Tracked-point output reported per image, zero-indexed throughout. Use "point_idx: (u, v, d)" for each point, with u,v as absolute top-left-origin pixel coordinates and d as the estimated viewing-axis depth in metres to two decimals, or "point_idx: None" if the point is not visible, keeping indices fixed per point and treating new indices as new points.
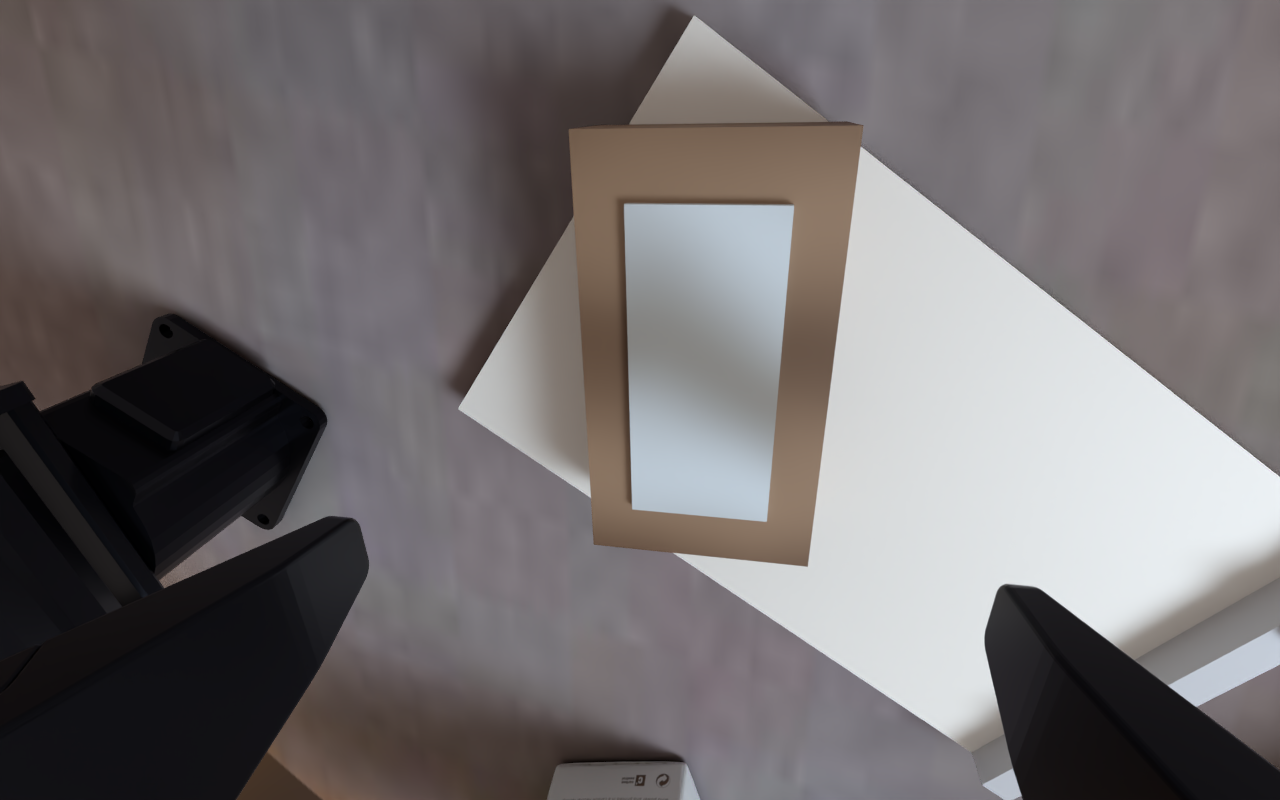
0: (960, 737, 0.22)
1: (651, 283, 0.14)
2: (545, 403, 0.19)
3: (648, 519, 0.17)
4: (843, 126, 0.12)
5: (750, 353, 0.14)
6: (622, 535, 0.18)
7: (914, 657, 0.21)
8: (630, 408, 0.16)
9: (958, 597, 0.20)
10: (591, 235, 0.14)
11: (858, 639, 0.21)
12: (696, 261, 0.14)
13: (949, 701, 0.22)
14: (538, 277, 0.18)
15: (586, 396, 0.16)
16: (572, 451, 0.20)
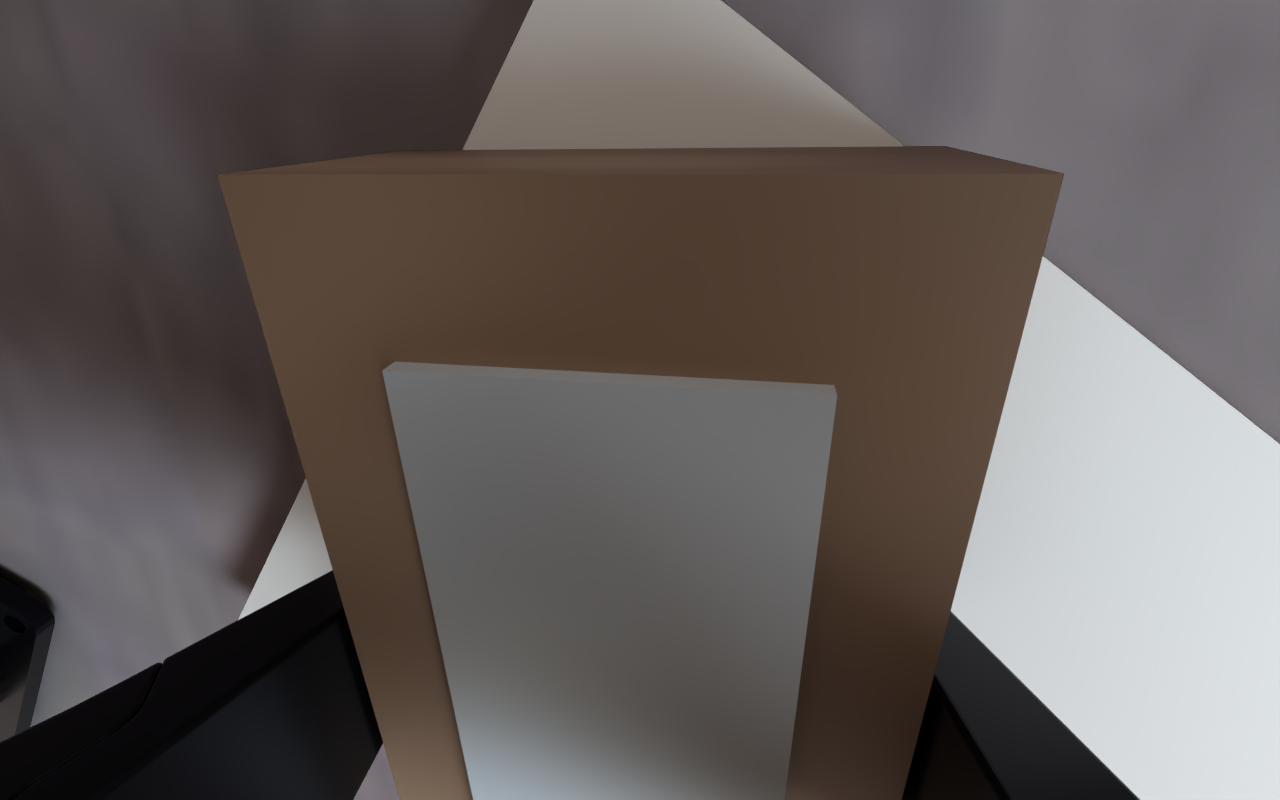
0: None
1: (477, 546, 0.06)
2: None
3: None
4: (998, 175, 0.04)
5: (722, 700, 0.06)
6: None
7: None
8: (469, 760, 0.07)
9: None
10: (328, 430, 0.06)
11: None
12: (579, 511, 0.05)
13: None
14: None
15: (380, 724, 0.07)
16: None
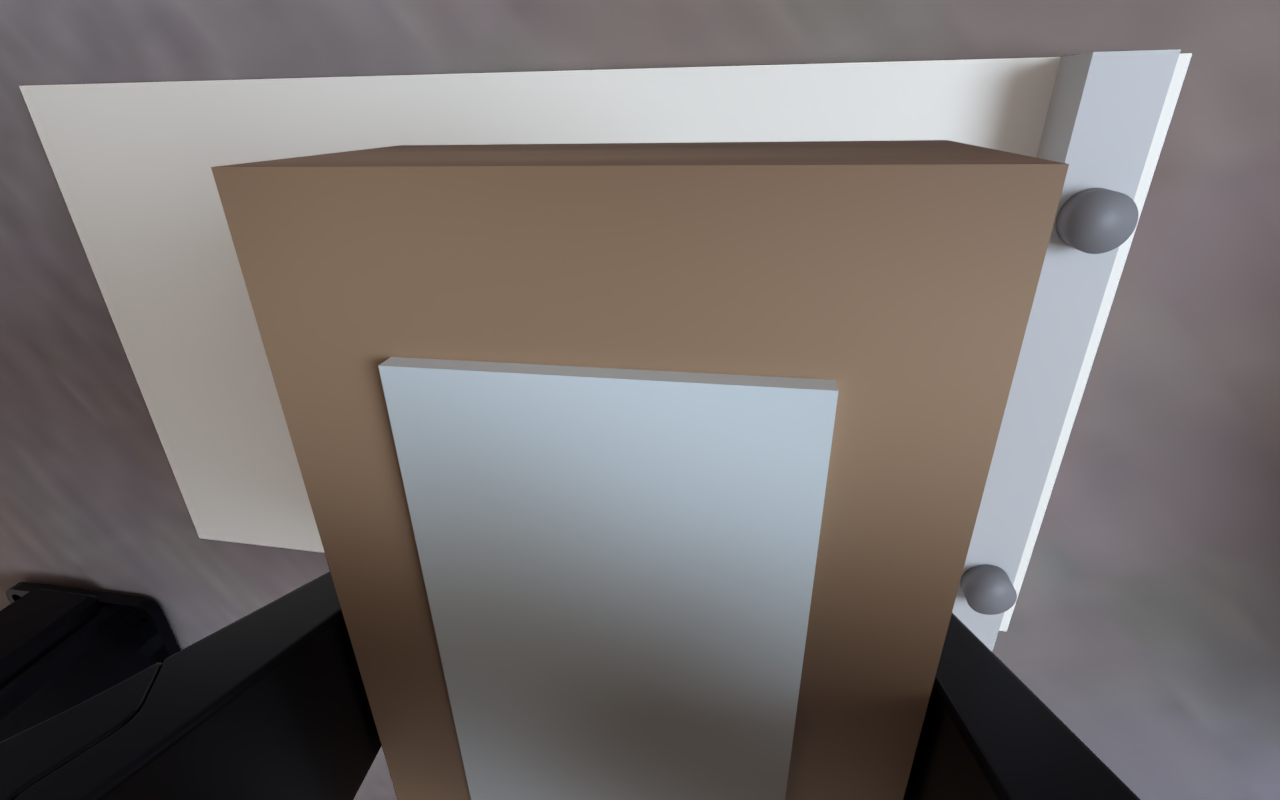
0: None
1: (474, 544, 0.06)
2: (241, 490, 0.19)
3: None
4: (1002, 166, 0.04)
5: (722, 699, 0.06)
6: None
7: None
8: (467, 759, 0.07)
9: None
10: (324, 426, 0.06)
11: None
12: (577, 506, 0.05)
13: None
14: (139, 385, 0.18)
15: (377, 723, 0.07)
16: (296, 521, 0.19)
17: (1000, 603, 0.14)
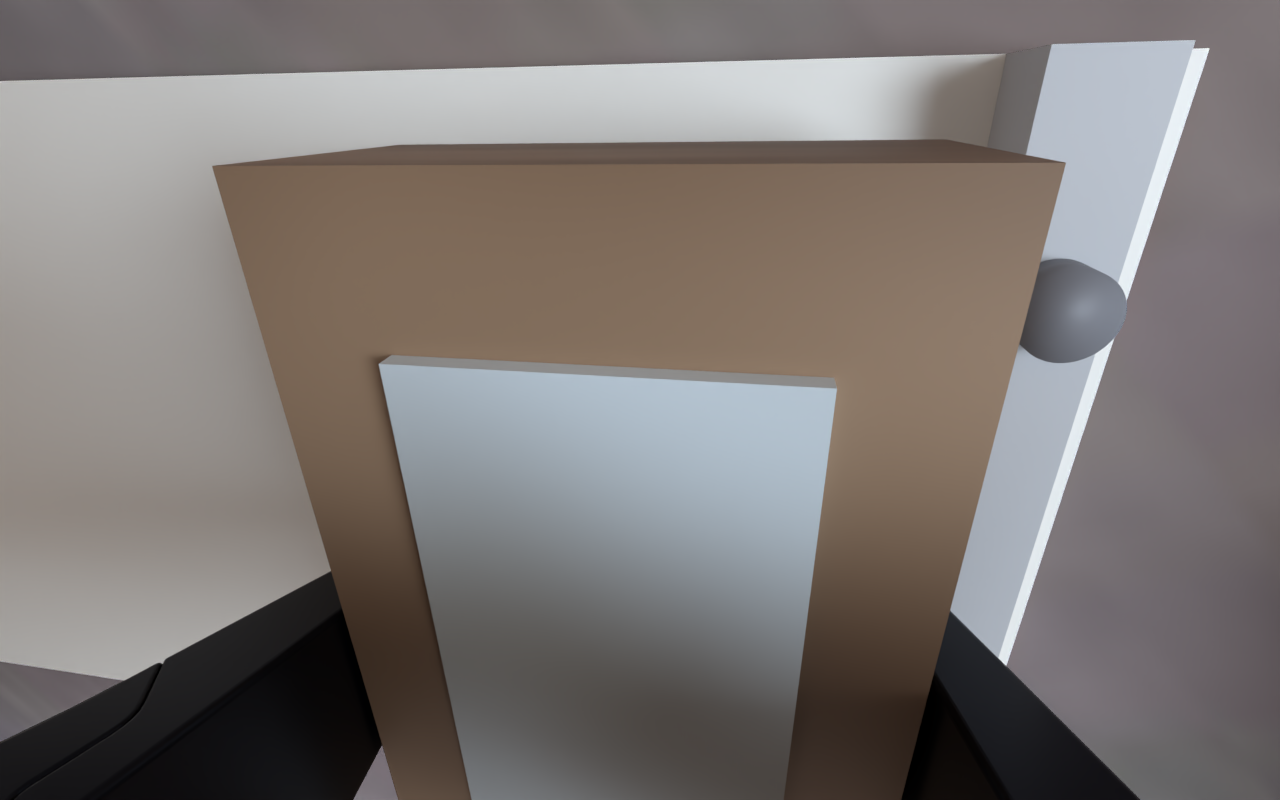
0: None
1: (474, 542, 0.06)
2: None
3: None
4: (999, 165, 0.04)
5: (721, 697, 0.06)
6: None
7: None
8: (467, 757, 0.07)
9: None
10: (324, 424, 0.06)
11: None
12: (578, 505, 0.05)
13: None
14: None
15: (378, 721, 0.07)
16: (71, 641, 0.15)
17: None
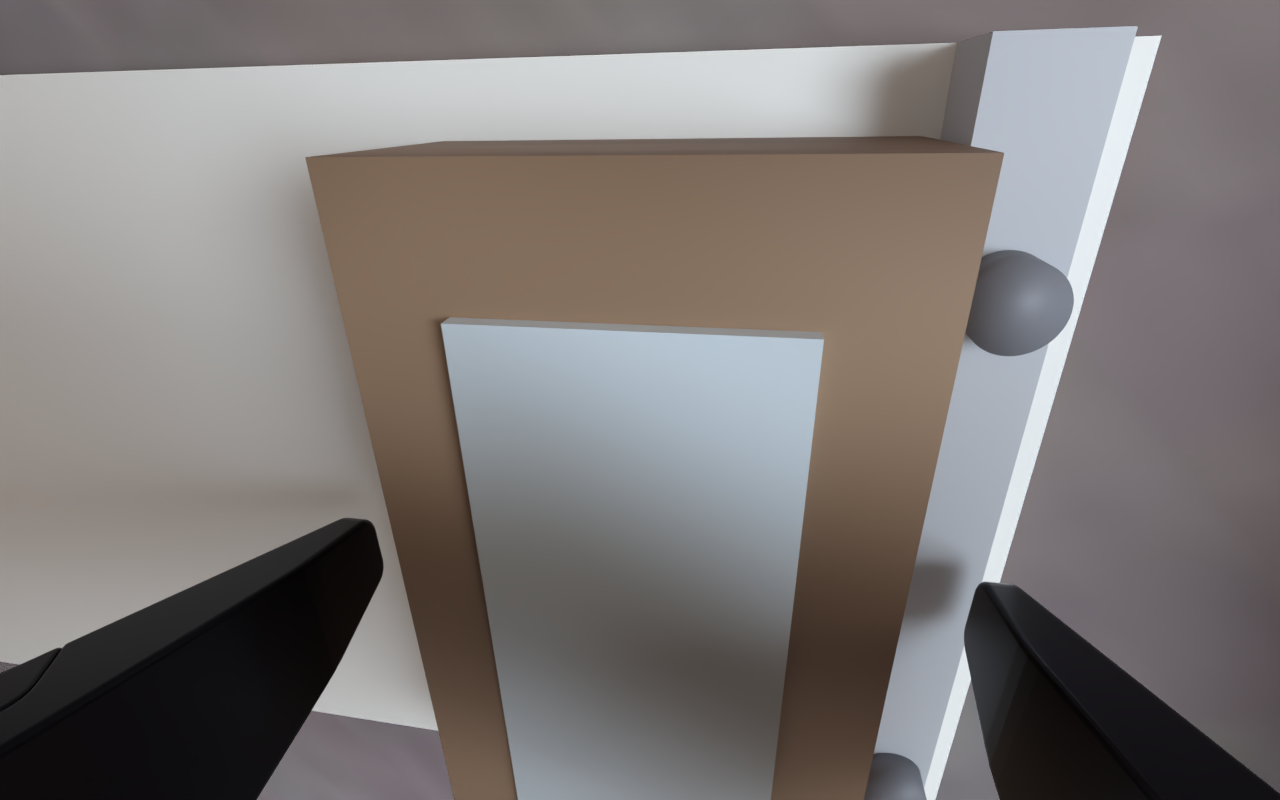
0: None
1: (516, 479, 0.07)
2: None
3: None
4: (951, 155, 0.05)
5: (727, 615, 0.07)
6: None
7: None
8: (502, 681, 0.08)
9: None
10: (388, 379, 0.07)
11: None
12: (606, 444, 0.06)
13: None
14: None
15: (423, 651, 0.08)
16: (49, 639, 0.15)
17: None
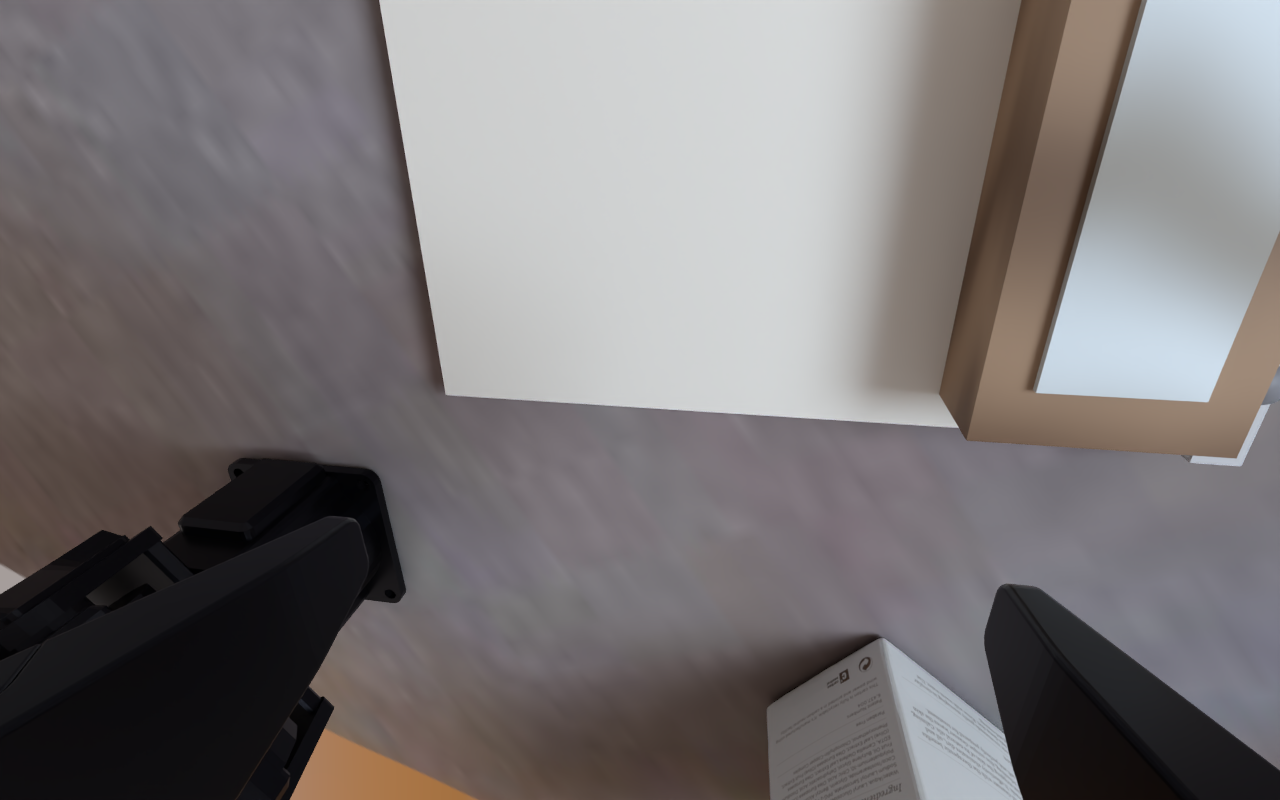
0: None
1: (1152, 100, 0.12)
2: (500, 341, 0.20)
3: (1047, 406, 0.15)
4: None
5: (1257, 186, 0.12)
6: (1007, 427, 0.15)
7: None
8: (1071, 265, 0.14)
9: None
10: (1083, 43, 0.12)
11: (931, 386, 0.18)
12: (1223, 67, 0.12)
13: None
14: (420, 235, 0.19)
15: (1012, 254, 0.14)
16: (549, 371, 0.20)
17: (1276, 391, 0.15)
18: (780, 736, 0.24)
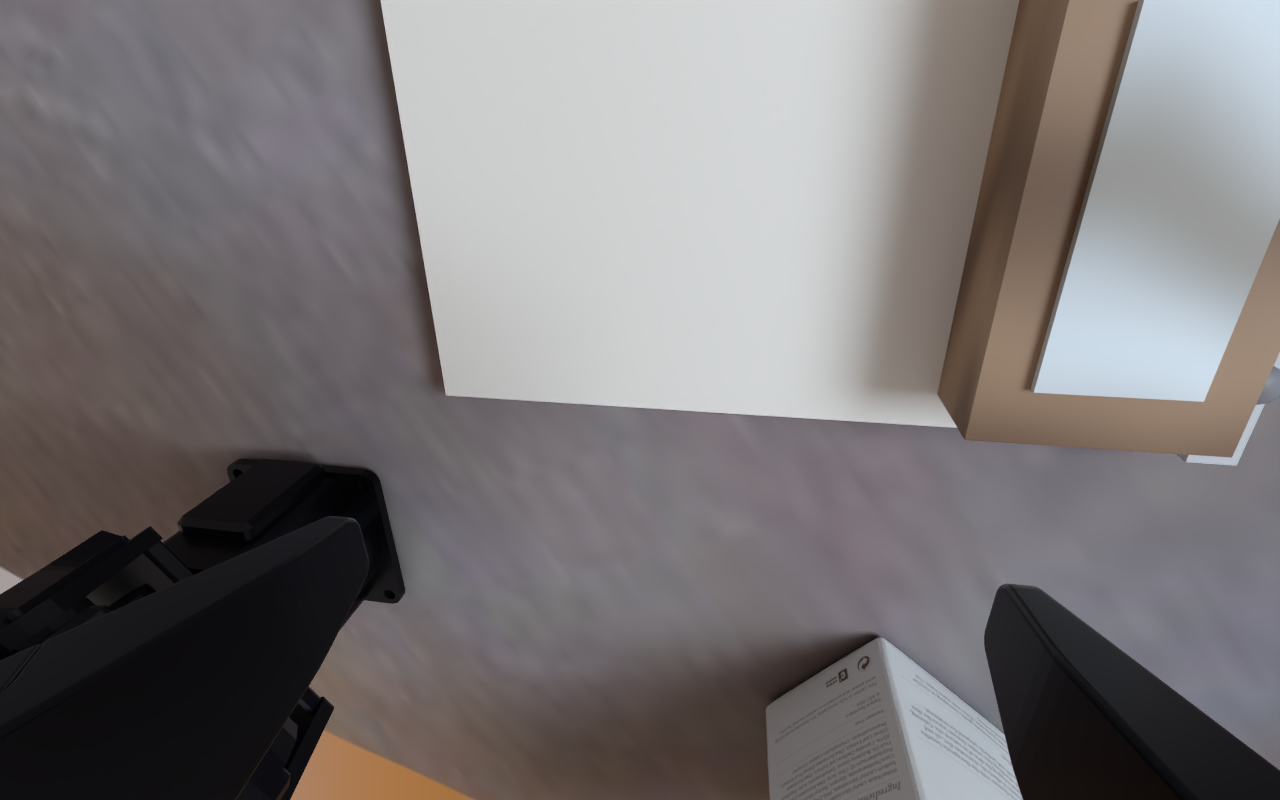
0: None
1: (1148, 102, 0.12)
2: (500, 342, 0.20)
3: (1044, 406, 0.15)
4: None
5: (1251, 188, 0.12)
6: (1005, 427, 0.16)
7: None
8: (1068, 266, 0.14)
9: None
10: (1079, 46, 0.12)
11: (929, 386, 0.18)
12: (1217, 71, 0.12)
13: None
14: (420, 236, 0.19)
15: (1010, 255, 0.14)
16: (549, 371, 0.20)
17: (1270, 391, 0.15)
18: (779, 735, 0.24)
